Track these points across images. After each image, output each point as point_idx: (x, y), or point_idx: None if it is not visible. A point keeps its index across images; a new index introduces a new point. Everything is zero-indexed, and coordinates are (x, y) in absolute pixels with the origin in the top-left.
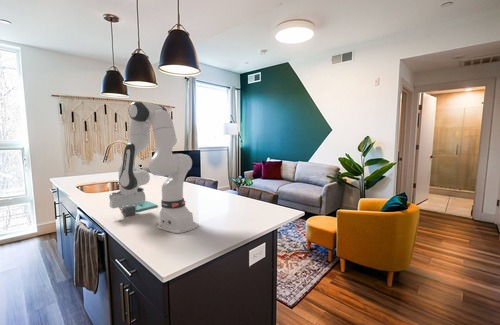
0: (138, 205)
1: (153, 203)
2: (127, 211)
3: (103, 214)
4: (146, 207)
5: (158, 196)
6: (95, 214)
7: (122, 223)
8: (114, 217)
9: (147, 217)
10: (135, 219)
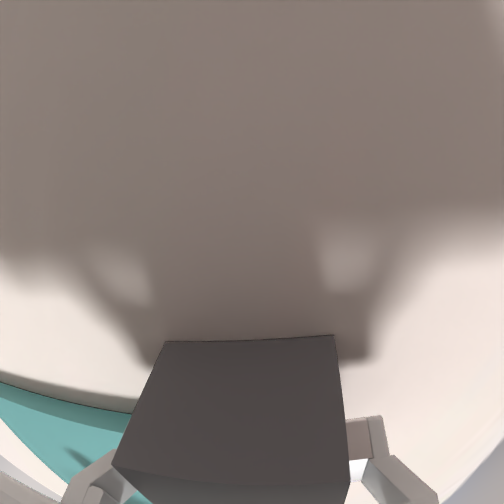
0: None
1: (17, 436)
2: (306, 416)
3: (430, 478)
4: (41, 414)
5: (44, 484)
6: (453, 485)
7: (498, 14)
8: (447, 389)
9: (33, 46)
10: (236, 32)
